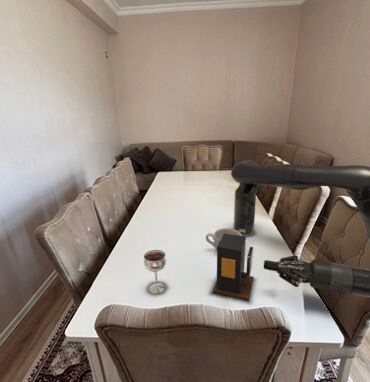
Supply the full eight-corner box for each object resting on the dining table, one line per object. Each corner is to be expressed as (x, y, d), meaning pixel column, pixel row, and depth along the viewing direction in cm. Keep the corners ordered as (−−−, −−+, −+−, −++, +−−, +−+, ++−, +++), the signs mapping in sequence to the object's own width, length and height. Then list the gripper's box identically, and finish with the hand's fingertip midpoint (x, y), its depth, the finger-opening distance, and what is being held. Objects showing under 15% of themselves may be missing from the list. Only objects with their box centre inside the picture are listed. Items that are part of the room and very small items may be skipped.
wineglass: (149, 298, 76) (146, 263, 73) (144, 285, 82) (141, 252, 79) (170, 291, 79) (168, 258, 75) (163, 279, 85) (161, 247, 81)
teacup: (243, 248, 103) (244, 230, 100) (237, 262, 93) (237, 242, 91) (211, 242, 108) (211, 225, 106) (202, 254, 99) (202, 236, 97)
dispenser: (220, 273, 87) (221, 231, 82) (253, 279, 83) (256, 236, 78) (212, 293, 77) (212, 247, 72) (248, 301, 73) (251, 254, 69)
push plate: (248, 266, 79) (249, 246, 77) (252, 266, 79) (253, 247, 77) (246, 277, 74) (247, 256, 72) (249, 277, 74) (250, 257, 72)
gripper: (328, 252, 73) (266, 242, 79) (336, 279, 61) (262, 265, 67) (324, 274, 75) (264, 263, 81) (331, 304, 63) (260, 288, 69)
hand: (263, 264), depth 74 cm, fingers closed
